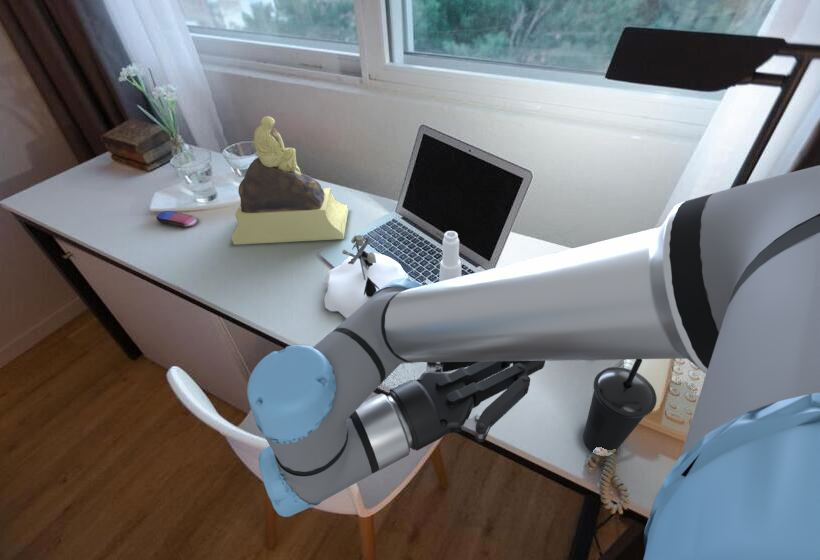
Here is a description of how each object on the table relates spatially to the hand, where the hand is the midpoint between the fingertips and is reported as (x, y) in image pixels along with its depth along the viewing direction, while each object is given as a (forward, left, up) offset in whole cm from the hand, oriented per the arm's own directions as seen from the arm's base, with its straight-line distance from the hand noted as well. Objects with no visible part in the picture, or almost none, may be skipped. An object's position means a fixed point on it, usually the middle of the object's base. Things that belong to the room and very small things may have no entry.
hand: (556, 343), depth 58 cm
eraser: (+95, +46, -18) cm, 107 cm away
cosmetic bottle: (+24, +2, -18) cm, 30 cm away
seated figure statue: (+75, +19, -18) cm, 79 cm away
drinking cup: (-8, -5, -18) cm, 21 cm away
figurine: (+43, +12, -18) cm, 48 cm away
